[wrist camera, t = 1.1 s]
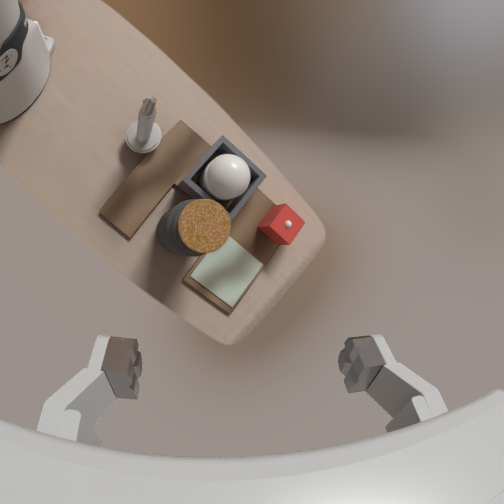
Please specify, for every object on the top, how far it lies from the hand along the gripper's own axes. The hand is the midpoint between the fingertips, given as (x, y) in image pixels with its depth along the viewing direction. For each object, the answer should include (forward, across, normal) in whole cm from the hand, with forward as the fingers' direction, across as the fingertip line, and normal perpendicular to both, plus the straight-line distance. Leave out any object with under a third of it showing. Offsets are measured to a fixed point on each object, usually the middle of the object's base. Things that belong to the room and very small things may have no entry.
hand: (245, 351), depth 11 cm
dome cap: (+32, 0, +5) cm, 33 cm away
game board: (+30, +2, +9) cm, 31 cm away
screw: (+33, +11, -1) cm, 35 cm away
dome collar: (+32, 0, +5) cm, 33 cm away
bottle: (+28, +6, +10) cm, 31 cm away
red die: (+32, -8, +10) cm, 34 cm away
